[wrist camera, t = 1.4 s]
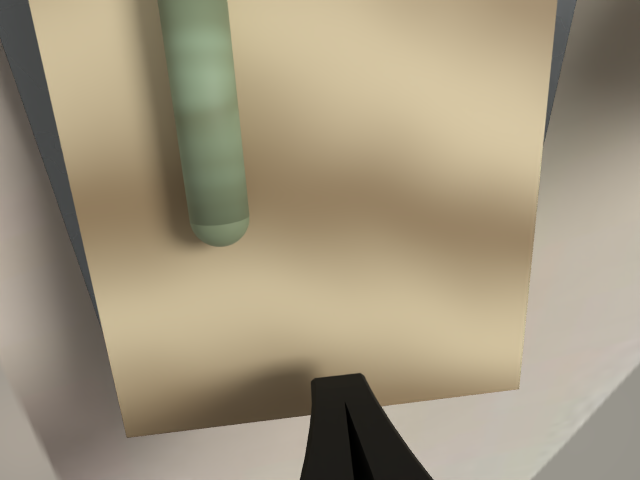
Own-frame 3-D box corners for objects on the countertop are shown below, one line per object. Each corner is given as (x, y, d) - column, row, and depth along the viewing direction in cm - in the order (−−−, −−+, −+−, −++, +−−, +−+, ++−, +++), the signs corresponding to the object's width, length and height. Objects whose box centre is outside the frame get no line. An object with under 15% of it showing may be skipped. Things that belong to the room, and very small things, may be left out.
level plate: (502, 370, 15) (545, 419, 13) (135, 415, 14) (111, 476, 12) (539, -57, 11) (608, -96, 9) (38, -46, 10) (-28, -88, 8)
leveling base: (479, 332, 20) (495, 356, 19) (135, 370, 19) (126, 399, 17) (569, -120, 12) (606, -132, 11) (-20, -115, 11) (-58, -129, 9)
